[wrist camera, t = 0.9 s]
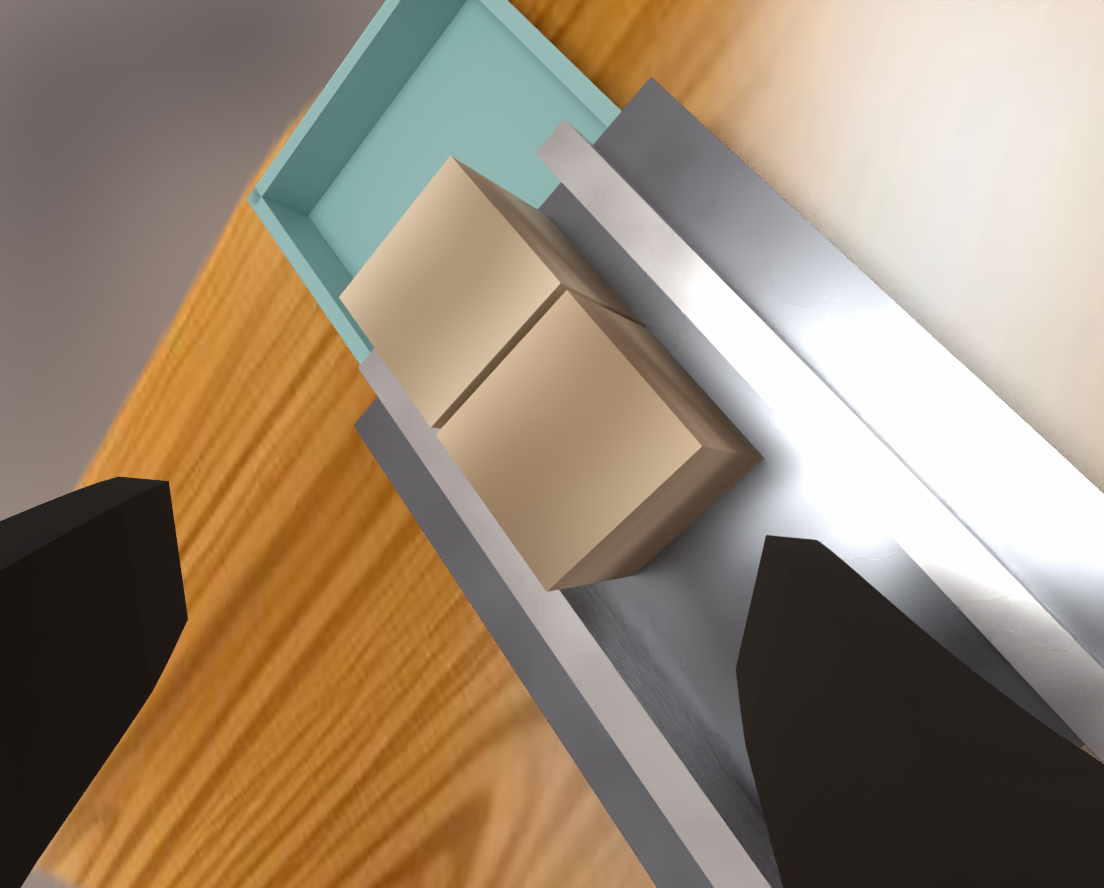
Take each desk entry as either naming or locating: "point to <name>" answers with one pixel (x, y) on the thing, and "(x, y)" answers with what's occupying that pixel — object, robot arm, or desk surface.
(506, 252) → the block
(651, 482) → the block
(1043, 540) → the slot board
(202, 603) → the desk surface
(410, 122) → the tray
